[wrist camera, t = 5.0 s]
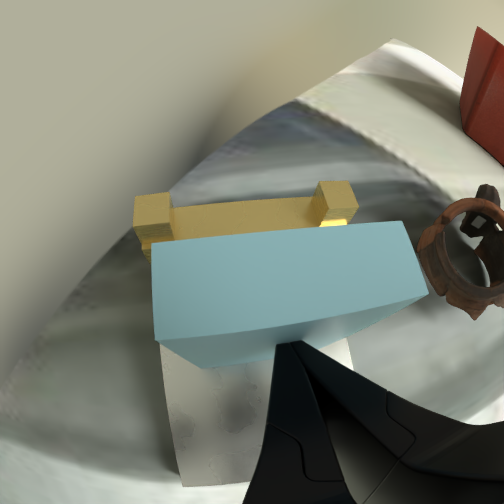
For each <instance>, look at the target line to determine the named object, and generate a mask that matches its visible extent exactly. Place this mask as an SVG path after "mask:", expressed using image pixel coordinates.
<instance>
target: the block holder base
mask: <svg viewBox="0 0 504 504" xmlns="http://www.w3.org/2000/svg"><path fill="white" fill-rule="evenodd" d="M358 208H359V205H358V203H357V201H356V198H355V196H354V193H353V191H352V189H351V186H350V184H349V182H348V181H319V183H318V185H317V188H316V190H315V192H314V195H313V197H297V198H280V199H265V200H251V201H239V202H227V203H216V204H206V205H196V206H186V207H177V208H173V205H172V201H171V196H170V192H165V193H157V194H149V195H142V196H135V203H134V215H133V228H134V230H135V232H136V234H137V236H138V238H139V240H140V242H141V244H142V251H143V253H144V255H145V256H146V258H147V260H148V262H149V264H151V243H158V242H167V241H176V240H186V239H195V238H205V237H214V236H224V235H234V234H245V233H255V232H266V231H277V230H288V229H300V228H311V227H323V226H336V225H348V223H349V222H350V220H351V219H352V217H353V216H354V214H355V213H356V211H357V210H358ZM318 350H319V351H321V352H322V353H324V354H326V355H327V356H329V357H331V358H332V359H334V360H336V361H338V362H339V363H341V364H343V365H344V366H346V367H348V368H349V369H351V370H353V365H352V361H351V356H350V351H349V347H348V342H347V338H346V337H345V338H343V339H341V340H339V341H336V342H334V343H332V344H330V345H327V346H325V347H323V348H320V349H318ZM160 353H161V362H162V372H163V380H164V388H165V395H166V402H167V409H168V416H169V422H170V428H171V433H172V439H173V444H174V449H175V454H176V459H177V464H178V468H179V473H180V477H181V481H182V486H183V487H195V486H212V485H224V484H233V483H241V482H249V481H251V479H252V476H253V474H254V471H255V468H256V465H257V462H258V459H259V455H260V452H261V447H262V442H263V437H264V431H265V425H266V417H267V410H268V403H269V395H270V387H271V379H272V371H273V363H274V359H269V360H262V361H256V362H249V363H242V364H235V365H227V366H218V367H209V368H199V367H197V366H196V365H194V364H192V363H190V362H189V361H187V360H185V359H184V358H182V357H181V356H179V355H177V354H176V353H174V352H172V351H171V350H169V349H168V348H166V347H165V346H163V345H161V344H160ZM353 371H354V370H353Z"/></svg>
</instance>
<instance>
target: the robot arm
mask: <svg viewBox="0 0 504 504" xmlns="http://www.w3.org/2000/svg"><path fill="white" fill-rule="evenodd" d="M242 504H504V421H501V422H496V423H492V424H486V425H471V424H466V423H463V422H460V421H457V420H454V419H451V418H449V417H446V416H443V415H440V414H438V413H435V412H433V411H430V410H427V409H425V408H423V407H420V406H418V405H416V404H413V403H411V402H409V401H407V400H405V399H403V398H401V397H399V396H397V395H396V394H394V393H392V392H390V391H387V390H386V389H385V388H383V387H381V386H379V385H377V384H376V383H374V382H372V381H370V380H369V379H367V378H365V377H363V376H362V375H360V374H358V373H356V372H355V371H353V370H351V369H349V368H348V367H346V366H344V365H343V364H341V363H339V362H338V361H336V360H334V359H332V358H331V357H329V356H327V355H326V354H324V353H322V352H321V351H319V350H318V349H316V348H314V347H313V346H311V345H309V344H308V343H306V342H304V341H303V340H298V341H292V342H289V343H288V342H287V343H281V344H276V346H275V354H274V363H273V371H272V379H271V387H270V395H269V403H268V410H267V417H266V425H265V431H264V437H263V442H262V447H261V452H260V455H259V459H258V462H257V465H256V468H255V471H254V474H253V476H252V479H251V482H250V485H249V487H248V490H247V492H246V495H245V498H244V500H243V503H242Z"/></svg>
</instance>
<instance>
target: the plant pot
mask: <svg viewBox="0 0 504 504" xmlns="http://www.w3.org/2000/svg"><path fill="white" fill-rule="evenodd" d="M459 104H460V110H461V118H462V126H463V130H464V131H465V133H466V134H468V135H469V136H470V137H471V138H472V139H474V140H475V141H476V142H477V143H479V144H480V145H481V146H482V147H483V148H484V149H486V150H487V151H488V152H489V153H490V154H491V155H492V156H494V157H495V158H496V159H497V160H498V161H499V162H500V163H501V164H502V165H503V166H504V46H503V45H502V44H501V43H500V42H498V41H497V40H496V39H495V38H493V37H492V36H491V35H489V34H488V33H487V32H485V31H484V30H483V29H481V28H480V27H478V26H477V29H476V32H475V35H474V39H473V43H472V47H471V50H470V54H469V59H468V63H467V68H466V72H465V77H464V82H463V87H462V92H461V97H460V103H459Z"/></svg>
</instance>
